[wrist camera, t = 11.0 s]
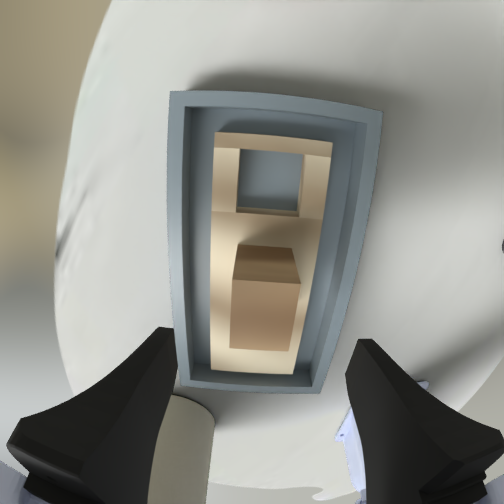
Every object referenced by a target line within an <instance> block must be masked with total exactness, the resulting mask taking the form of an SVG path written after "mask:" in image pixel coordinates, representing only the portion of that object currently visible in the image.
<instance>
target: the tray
mask: <svg viewBox="0 0 504 504" xmlns="http://www.w3.org/2000/svg"><path fill="white" fill-rule="evenodd" d="M382 118H383V112H382V111H378V110H374V109H369V108H364V107H360V106H355V105H349V104H344V103H339V102H333V101H327V100H320V99H313V98H306V97H298V96H290V95H280V94H270V93H257V92H240V91H170V99H169V116H168V140H167V231H168V256H169V274H170V289H171V303H172V314H173V325H174V334H175V343H176V352H177V361H178V370H179V377H180V384H181V386H188V387H197V388H205V389H215V390H226V391H239V392H256V393H285V394H318V393H320V392H321V389H322V386H323V383H324V380H325V378H326V375H327V372H328V369H329V366H330V363H331V360H332V357H333V354H334V350H335V347H336V344H337V341H338V338H339V334H340V331H341V328H342V324H343V321H344V317H345V314H346V310H347V306H348V303H349V299H350V295H351V291H352V288H353V284H354V280H355V276H356V271H357V267H358V263H359V259H360V254H361V250H362V245H363V241H364V236H365V231H366V226H367V221H368V216H369V210H370V205H371V199H372V193H373V187H374V181H375V175H376V168H377V161H378V153H379V145H380V137H381V128H382ZM215 132H234V133H251V134H265V135H276V136H286V137H296V138H305V139H313V140H320V141H327V142H332V143H333V145H332V154H331V162H330V170H329V178H328V186H327V193H326V201H325V208H324V214H323V221H322V227H321V234H320V240H319V246H318V252H317V258H316V264H315V269H314V275H313V280H312V286H311V291H310V296H309V301H308V306H307V311H306V316H305V321H304V326H303V330H302V335H301V340H300V344H299V349H298V353H297V357H296V362H295V366H294V370H293V374H267V373H249V372H234V371H222V370H211V347H210V251H211V209H212V181H213V159H214V139H215ZM302 158H303V154H297V153H287V152H276V151H265V150H251V149H241V153H240V169H239V184H238V201H237V207H250V208H263V209H276V210H288V211H297V204H298V195H299V186H300V177H301V168H302Z"/></svg>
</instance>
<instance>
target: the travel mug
mask: <svg viewBox="0 0 504 504" xmlns="http://www.w3.org/2000/svg"><path fill="white" fill-rule="evenodd" d="M214 427H215V420H214V418H213V416H212V414H211V413H210V412H209V411H208V410H207V409H205V408H204V407H203V406H201V405H199V404H198V403H196V402H194V401H191V400H189V399H186V398H183V397H180V396H175V395H171V397H170V400H169V403H168V406H167V409H166V412H165V415H164V418H163V421H162V424H161V427H160V430H159V434H158V438H157V442H156V447H155V452H154V458H153V463H152V470H151V476H150V484H149V492H148V502H147V504H206V495H207V485H208V478H209V469H210V460H211V452H212V444H213V436H214Z"/></svg>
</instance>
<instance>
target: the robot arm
mask: <svg viewBox="0 0 504 504" xmlns="http://www.w3.org/2000/svg"><path fill="white" fill-rule="evenodd" d="M177 369H178V361H177V352H176V343H175V334H174V329H173V328H165V327H158V328H157V329H156V330H155V331H154V332H153V333H152V334H151V335H150V336H149V337H148V338H147V339H146V340H145V341H144V342H143V343H142V344H141V345H140V346H139V347H138V348H137V349H136V350H135V351H134V352H133V353H132V354H131V355H130V356H129V357H128V358H127V359H126V360H125V361H123V362H122V363H121V364H120V365H119V366H118V367H116V368H115V369H114V370H113V371H112V372H111V373H109V374H108V375H107V376H106V377H104V378H103V379H102V380H100V381H99V382H97V383H96V384H95V385H93V386H92V387H90V388H89V389H87V390H85V391H84V392H82V393H80V394H78V395H77V396H75V397H73V398H71V399H70V400H68V401H66V402H64V403H62V404H59V405H57V406H55V407H53V408H50V409H48V410H45V411H43V412H40V413H37V414H34V415H31V416H28V417H24V418H21V419H20V421H19V422H18V424H17V426H16V428H15V429H14V431H13V433H12V435H11V436H10V438H9V440H8V442H7V445H6V446H7V449H8V450H9V452H10V453H11V454H12V455H13V457H14V458H15V459H16V460H17V461H19V462H20V464H22V465H23V466H24V467H25V468H26V469H27V470H28V471H29V475H28V477H26V476H24V475H23V474H21V473H20V472H18V471H16V470H15V469H13V468H11V467H10V466H8V465H7V464H5V463H3V462H2V461H0V504H147V502H148V492H149V484H150V476H151V470H152V463H153V458H154V452H155V447H156V442H157V438H158V434H159V430H160V427H161V424H162V421H163V418H164V415H165V412H166V409H167V406H168V403H169V400H170V397H171V394H172V391H173V388H174V384H175V379H176V374H177ZM345 377H346V384H347V391H348V396H349V400H350V404H351V408H350V410H349V412H348V414H347V416H346V418H345V420H344V422H343V423H342V425H341V427H340V429H339V431H338V433H337V434H336V436H335V441H337V442H339V441H343V443H344V448H345V453H346V458H347V463H348V468H349V473H350V479H351V482H352V485H353V486H354V488H355V489H356V490H357V491H358V492H359V493H360V494H361V499H359V500H357V501H356V502H355V504H504V474H503V475H501V476H500V477H498V478H496V479H494V480H492V481H491V482H489V483H487V484H486V485H484V483H483V480H484V479H485V478H486V474H485V470H486V469H487V468H489V467H490V466H491V465H492V464H493V463H494V462H495V461H496V460H498V459H499V458H500V457H501V456H502V454H503V453H504V438H503V436H502V434H501V432H500V430H497V429H495V428H492V427H489V426H486V425H483V424H481V423H479V422H476V421H474V420H472V419H470V418H468V417H466V416H464V415H462V414H460V413H458V412H457V411H455V410H453V409H452V408H450V407H448V406H447V405H445V404H444V403H442V402H441V401H439V400H438V399H437V398H435V397H434V396H433V395H431V394H430V393H429V392H427V391H426V389H427V388H428V386H429V383H428V381H423V382H415V381H414V380H413V379H412V378H411V377H410V376H409V375H408V374H407V373H406V372H405V371H404V370H403V369H402V368H401V367H400V366H399V365H398V364H397V363H396V362H395V361H394V360H393V359H392V358H391V357H390V356H389V355H388V354H387V353H386V352H385V351H384V350H383V349H382V348H381V347H380V346H379V345H378V344H377V343H376V342H375V341H374V340H373V339H358V341H357V344H356V347H355V349H354V352H353V355H352V358H351V360H350V363H349V366H348V368H347V371H346V373H345Z"/></svg>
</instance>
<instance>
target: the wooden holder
mask: <svg viewBox="0 0 504 504" xmlns="http://www.w3.org/2000/svg"><path fill="white" fill-rule="evenodd" d="M332 145H333V143H332V142H327V141H320V140H313V139H305V138H296V137H286V136H276V135H265V134H251V133H234V132H215V139H214V159H213V181H212V209H211V251H210V347H211V370H222V371H234V372H249V373H267V374H293V370H294V366H295V362H296V357H297V353H298V349H299V344H300V340H301V335H302V330H303V326H304V321H305V316H306V311H307V306H308V301H309V296H310V291H311V286H312V280H313V275H314V269H315V264H316V258H317V252H318V246H319V240H320V234H321V227H322V221H323V214H324V208H325V201H326V193H327V186H328V178H329V170H330V162H331V154H332ZM241 149H251V150H265V151H276V152H287V153H297V154H303V158H302V168H301V177H300V186H299V195H298V204H297V211H288V210H276V209H263V208H250V207H237V201H238V184H239V169H240V153H241Z"/></svg>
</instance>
